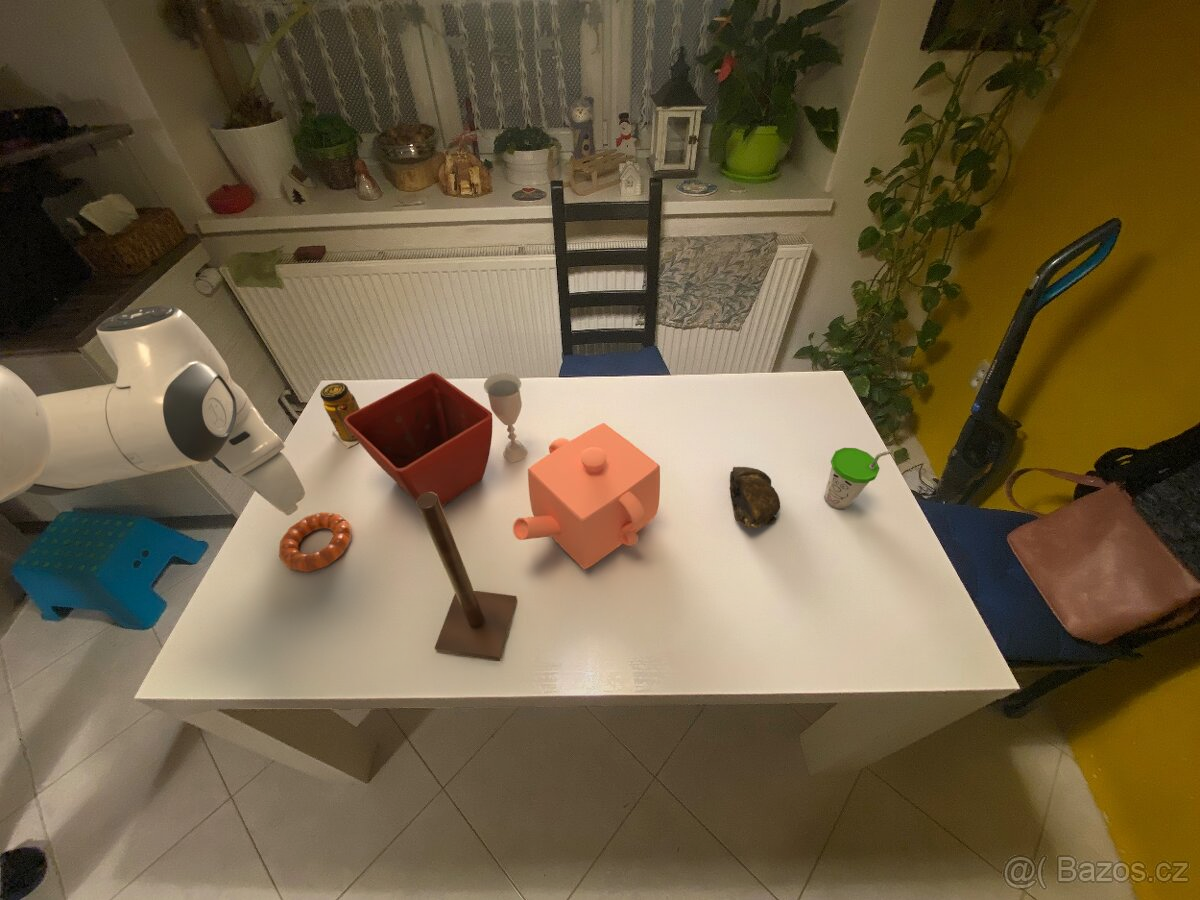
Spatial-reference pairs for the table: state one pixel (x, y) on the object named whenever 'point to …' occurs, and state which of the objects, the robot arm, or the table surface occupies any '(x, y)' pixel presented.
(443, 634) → the stand
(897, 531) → the table surface
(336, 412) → the condiment
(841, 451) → the cup
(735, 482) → the dark brown irregular lump
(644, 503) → the teapot
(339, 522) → the ring
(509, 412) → the chalice
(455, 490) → the flower pot
